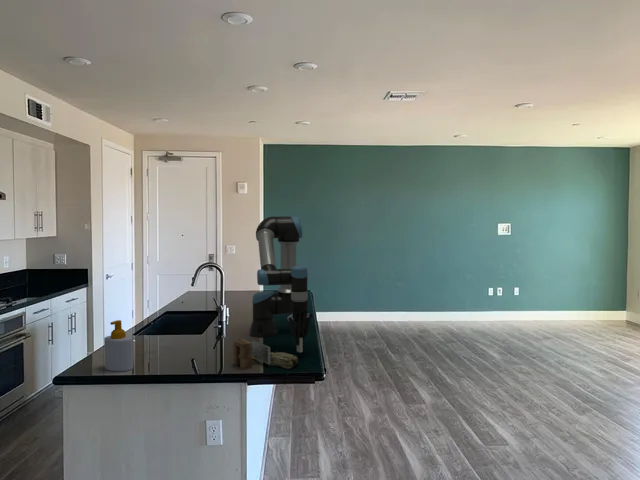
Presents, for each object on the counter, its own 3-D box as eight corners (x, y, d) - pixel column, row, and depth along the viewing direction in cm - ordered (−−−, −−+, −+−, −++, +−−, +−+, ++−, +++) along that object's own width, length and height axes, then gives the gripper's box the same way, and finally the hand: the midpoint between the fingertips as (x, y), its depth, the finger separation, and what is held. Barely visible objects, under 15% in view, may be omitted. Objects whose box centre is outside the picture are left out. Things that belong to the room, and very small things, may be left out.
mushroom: (262, 366, 196) (262, 353, 196) (276, 360, 204) (276, 348, 204) (290, 371, 188) (290, 358, 188) (302, 365, 197) (302, 353, 196)
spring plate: (254, 355, 205) (254, 340, 205) (270, 363, 194) (270, 347, 193) (233, 359, 199) (233, 344, 198) (249, 368, 188) (249, 351, 187)
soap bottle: (99, 369, 191) (98, 321, 190) (114, 363, 199) (113, 317, 198) (123, 373, 186) (122, 324, 186) (138, 367, 194) (137, 320, 193)
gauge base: (254, 357, 208) (254, 334, 207) (268, 363, 198) (268, 339, 198) (230, 362, 200) (229, 338, 200) (242, 369, 191) (242, 344, 190)
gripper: (306, 297, 214) (306, 347, 215) (282, 300, 206) (283, 352, 207) (315, 299, 208) (315, 350, 209) (291, 303, 200) (292, 356, 201)
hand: (299, 351), depth 208 cm, fingers closed
